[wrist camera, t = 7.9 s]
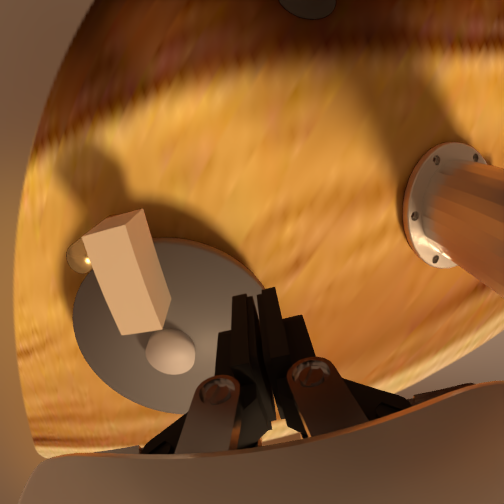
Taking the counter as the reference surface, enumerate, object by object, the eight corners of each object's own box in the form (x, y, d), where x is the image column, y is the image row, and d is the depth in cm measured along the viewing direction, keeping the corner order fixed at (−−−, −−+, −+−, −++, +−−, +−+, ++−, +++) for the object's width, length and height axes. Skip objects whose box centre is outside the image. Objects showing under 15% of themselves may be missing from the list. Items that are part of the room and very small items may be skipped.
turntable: (93, 188, 20) (58, 204, 15) (319, 255, 23) (344, 288, 18) (79, 374, 26) (62, 411, 21) (241, 416, 30) (244, 457, 24)
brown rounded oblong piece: (189, 196, 23) (174, 220, 16) (228, 350, 28) (230, 404, 22) (98, 218, 23) (58, 248, 16) (151, 360, 28) (138, 412, 22)
